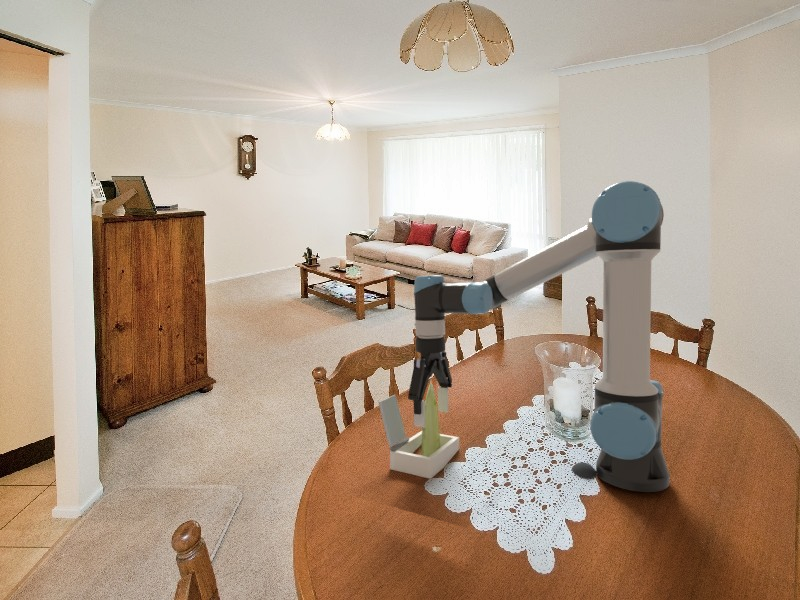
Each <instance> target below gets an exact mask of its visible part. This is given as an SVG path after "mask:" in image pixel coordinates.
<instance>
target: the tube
mask: <svg viewBox="0 0 800 600" xmlns="http://www.w3.org/2000/svg"><path fill="white" fill-rule="evenodd" d="M434 388H435V387H434V385H433V383H432V381H430V383H429V384H428V389H427V392H426V396H425V427H424V428H423V427H421V431H422V444H421V446H420V447H421V453H420V455H421V456H426V457H429V456H430V455H431V454H433V453H434V452H435V451H437V450H438V449H439V448H441V447H440V434H441V433H440V421H439V411H438V402H437V398H436V392H435V389H434Z"/></svg>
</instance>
